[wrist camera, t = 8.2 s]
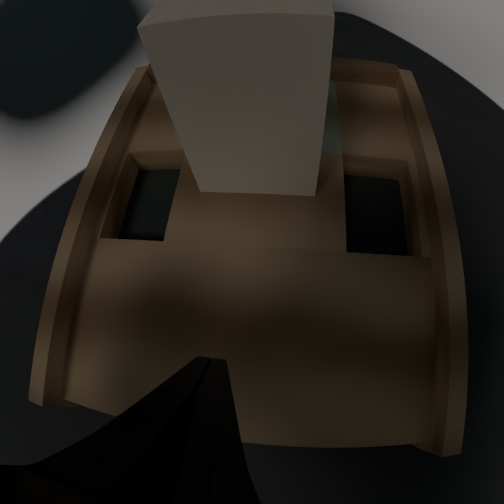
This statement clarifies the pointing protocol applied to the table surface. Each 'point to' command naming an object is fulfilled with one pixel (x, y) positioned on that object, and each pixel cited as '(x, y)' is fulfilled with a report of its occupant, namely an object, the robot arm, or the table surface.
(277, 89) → the cream block
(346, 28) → the table surface
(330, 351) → the wooden tray
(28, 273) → the table surface
